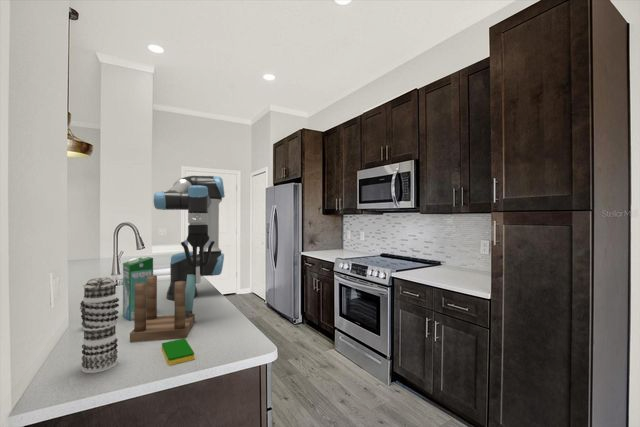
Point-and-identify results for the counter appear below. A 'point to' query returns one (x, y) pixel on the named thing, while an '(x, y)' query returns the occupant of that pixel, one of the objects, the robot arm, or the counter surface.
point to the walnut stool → (159, 326)
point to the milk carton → (134, 281)
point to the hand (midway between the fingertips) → (198, 282)
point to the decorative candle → (99, 325)
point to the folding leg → (190, 292)
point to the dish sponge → (177, 351)
